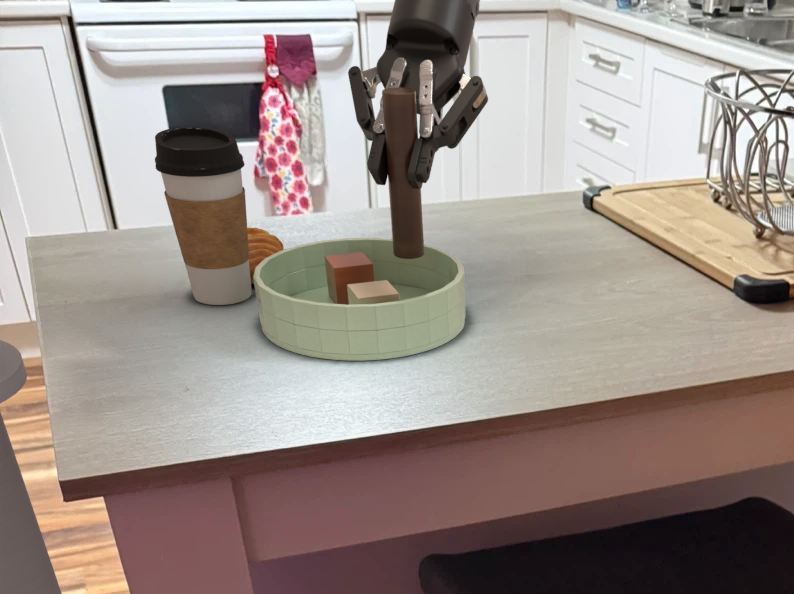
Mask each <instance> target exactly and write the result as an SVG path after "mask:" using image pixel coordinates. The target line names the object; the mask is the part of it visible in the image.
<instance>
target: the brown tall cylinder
mask: <svg viewBox="0 0 794 594" xmlns="http://www.w3.org/2000/svg"><path fill="white" fill-rule="evenodd" d="M381 98H382V99H383V113H384V127H385V141H386V155H387V169H388V176H387V181H388V194H389V196H388V197H389V210H390V211H389V212H390V222H391V224H390V225H391V239H393V253H394V256H396V257H398V258H402V259H415V258H419V257H422V256H423V255H424V244H425V242H424V241H425V240H424V224H423V223H424V222H423V203H422V188H421V189H415V188H412V186H411V184H410V182H409V180H408V177H407V173H408V168H409V164H410V160H411V155H412V151H413V146H414V142H415V138H419V127H418V114H417V107H416V91H415V90H414V89H410V88H401V87H396V88H387V89H382V91H381Z"/></svg>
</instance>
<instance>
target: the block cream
mask: <svg viewBox="0 0 794 594" xmlns="http://www.w3.org/2000/svg"><path fill="white" fill-rule="evenodd" d="M347 290H348V300H349V305H352V304H378V303H386V302H394V301H400V300H399V293H398V292H397V291H396V289H395V288H394V287H393V286H392V285H391V284H390V283H389V282H388V280H383V281H374V282H365V283H356V284H348V285H347Z"/></svg>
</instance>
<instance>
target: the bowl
mask: <svg viewBox="0 0 794 594" xmlns="http://www.w3.org/2000/svg"><path fill="white" fill-rule="evenodd" d="M358 252H363V253H364V254H365V255H366V257H367V258H368V259H369V260H370V261H371V262H372V263H373V269H374V281H383V280H388V282H389V283H390V284H391V285H392V286H393V287H394V288H395V289H396V291H397V292H398V293H399V300H400V301H394V302H386V303H378V304H352V305H345V304H334V302H333V301H332V299H331V298H330V297H329V293H328V284H327V275H326V266H325V256H329V255H339V254H348V253H358ZM465 274H466V273H465V268H464V265H463V262H462V261H460V260H459V258H458V257H456V256H455V255H454V254H452V253H450V252H448V251H446V250H444V249H442V248H439V247H436V246H432V245H430V244H425V243H424V255H423V256H422V257H419V258H415V259H402V258H398V257H396V256H394V253H393V239H392V238H381V237H348V238H336V239H327V240H326V239H325V240H319V241H313V242H309V243H303V244H298V245H296V246H292V247H289V248H285V249H283V250H282V251H279V252H277V253H275V254H273V255H271V256H269V257H267V258H265V259H264V260H263V261H262V262H261V263H260V264H259V265H258V266H256V268H255V271H254V276H253V279H254V283H253V285H254V286H253V287H254V292H255V297H256V305H257V308H258V309H257V310H258V311H257V312H258V317H259V322H260V323H259V324H260V326H261V330H262V333H263V334H264V336H265V337H266V338H267V339H268V340H269V341H270V342H271V343H272V344H274V345H276V346H278V347H280V348H282V349H284V350H287V351H289V352H292V353H295V354H297V355H298V354H299V355H303V356H306V357H311V358H317V359H325V360H332V361H333V360H334V361H353V362H354V361H356V362H357V361H358V362H359V361H379V360H388V359H389V360H390V359H396V358H403V357H408V356H412V355H416V354H422V353H424V352H427V351H431V350H433V349H436V348H439V347H440V346H443V345H445V344H447V343H449V342H450V341H452V340H453V339H454V338H456V337H457V336H458V335H459V334H460V333H462V330H463V329H464V327H465V324H466V317H467V316H466V314H467V313H466V284H465V283H466V279H465Z"/></svg>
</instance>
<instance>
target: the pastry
mask: <svg viewBox="0 0 794 594" xmlns="http://www.w3.org/2000/svg"><path fill="white" fill-rule="evenodd" d="M247 232H248V248H249V268H250V279H251V285H252V284H253V285H254V279H253V276H254V271H255V268H256V266H258V265H259V264H260V263H261V262H262V261H263V260H264V259H265V258H267V257H269V256H271V255H273V254H275V253H277V252H279V251H282V250H284V244H283V242H282V241H281V240H280V239H279V238H278V237H277V236H276V235H274V234H270V232H269V231H267V230H265V229H262V228H258V227H247Z"/></svg>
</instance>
